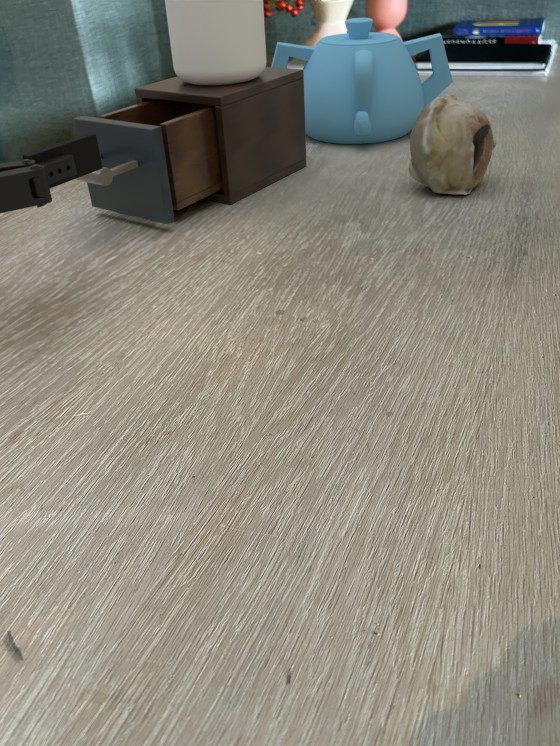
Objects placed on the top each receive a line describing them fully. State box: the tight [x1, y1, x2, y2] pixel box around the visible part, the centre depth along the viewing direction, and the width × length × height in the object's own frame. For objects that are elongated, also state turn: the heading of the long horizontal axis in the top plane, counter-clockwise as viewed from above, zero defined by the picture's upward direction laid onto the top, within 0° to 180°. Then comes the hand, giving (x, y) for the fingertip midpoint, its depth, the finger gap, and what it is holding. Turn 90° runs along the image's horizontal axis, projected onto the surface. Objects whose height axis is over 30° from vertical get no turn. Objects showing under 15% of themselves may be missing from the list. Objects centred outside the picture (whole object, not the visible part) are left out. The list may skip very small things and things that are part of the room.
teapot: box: [270, 17, 454, 145], centre depth 90 cm, size 19×19×14 cm
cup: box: [164, 0, 267, 85], centre depth 70 cm, size 10×10×10 cm
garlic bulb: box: [408, 93, 497, 196], centre depth 70 cm, size 9×8×10 cm
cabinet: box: [134, 66, 307, 205], centre depth 76 cm, size 15×12×11 cm
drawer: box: [73, 99, 223, 225], centre depth 68 cm, size 19×11×9 cm, turn 145°
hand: (41, 141), depth 57 cm, fingers open, 13 cm apart
